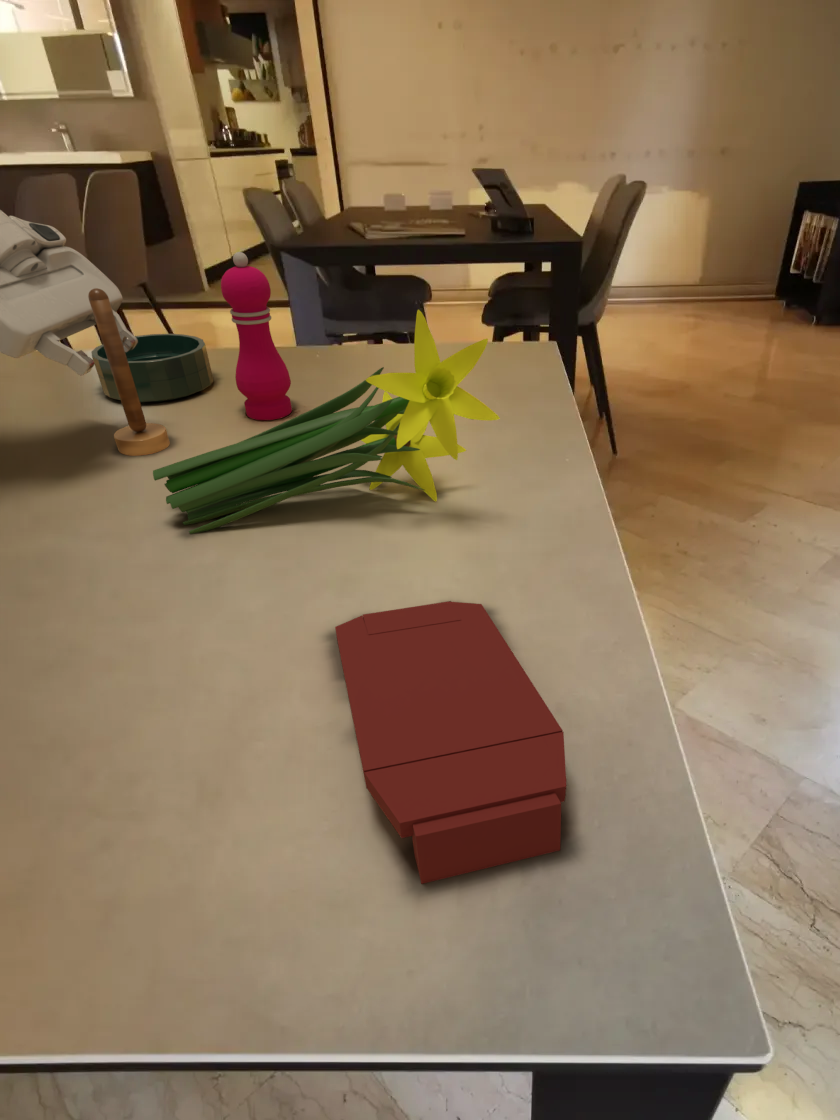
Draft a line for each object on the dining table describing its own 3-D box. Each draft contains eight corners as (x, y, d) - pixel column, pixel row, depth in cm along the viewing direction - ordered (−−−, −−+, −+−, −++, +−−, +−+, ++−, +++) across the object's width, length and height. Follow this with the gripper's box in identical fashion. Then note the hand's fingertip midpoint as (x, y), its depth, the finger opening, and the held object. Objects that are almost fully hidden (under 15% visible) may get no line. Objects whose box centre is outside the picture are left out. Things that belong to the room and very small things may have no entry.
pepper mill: (232, 418, 97) (196, 255, 84) (260, 402, 102) (230, 246, 90) (278, 424, 95) (248, 258, 83) (305, 407, 100) (279, 248, 88)
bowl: (82, 395, 104) (67, 353, 101) (165, 367, 115) (155, 329, 111) (154, 412, 98) (142, 368, 95) (235, 382, 109) (226, 341, 106)
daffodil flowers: (199, 486, 81) (480, 385, 82) (225, 596, 77) (523, 488, 77) (110, 394, 65) (461, 268, 66) (137, 526, 61) (514, 390, 61)
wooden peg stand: (109, 454, 87) (53, 290, 75) (148, 438, 91) (100, 281, 79) (142, 464, 84) (89, 296, 73) (181, 447, 88) (137, 286, 77)
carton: (341, 670, 59) (385, 897, 38) (333, 619, 57) (375, 830, 36) (479, 647, 62) (592, 846, 41) (477, 596, 59) (595, 781, 38)
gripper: (-66, 252, 65) (70, 364, 70) (63, 224, 82) (166, 317, 87) (-86, 303, 68) (46, 406, 74) (42, 267, 85) (142, 354, 90)
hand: (111, 358), depth 80 cm, fingers open, 8 cm apart
